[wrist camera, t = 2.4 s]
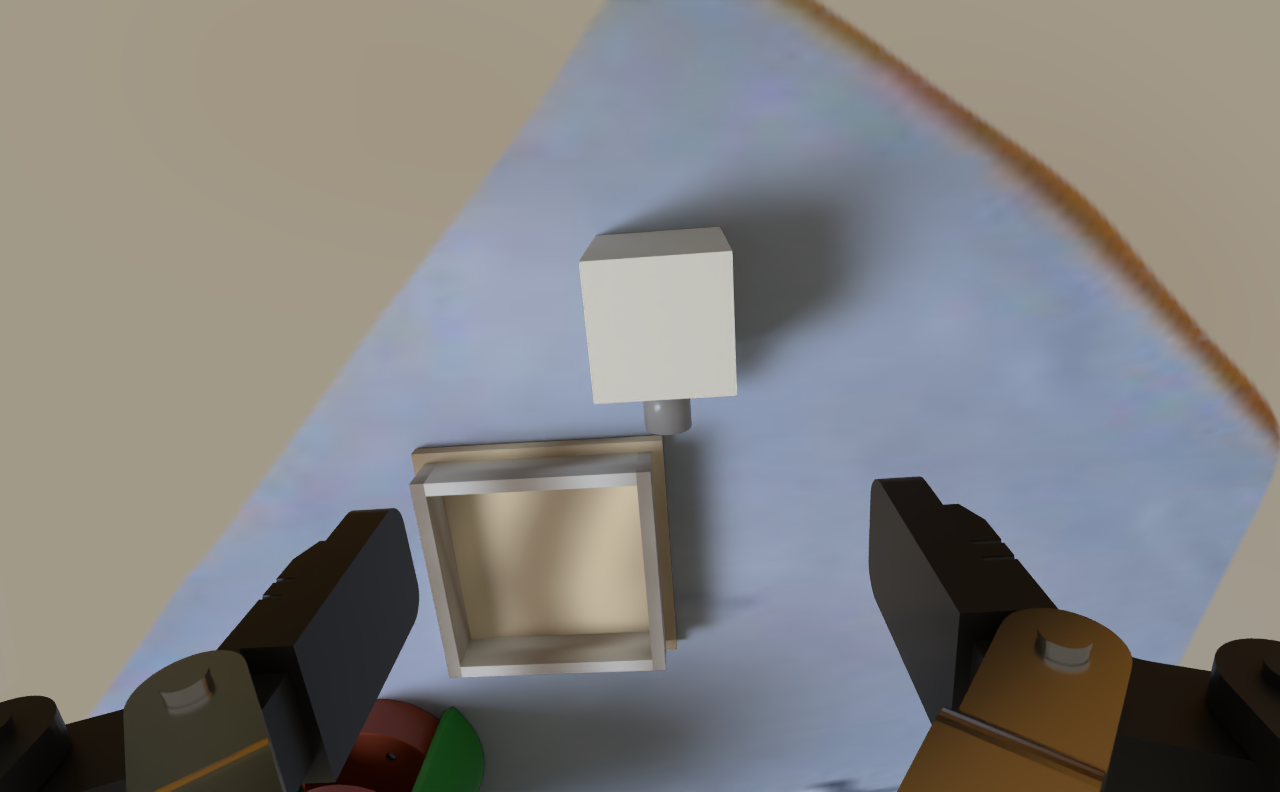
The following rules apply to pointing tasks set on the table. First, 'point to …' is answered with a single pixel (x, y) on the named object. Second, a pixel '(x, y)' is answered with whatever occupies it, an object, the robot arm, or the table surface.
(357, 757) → the green cutaway cylinder
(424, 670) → the table surface
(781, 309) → the table surface
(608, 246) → the cream cube on peg
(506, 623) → the mount pocket
